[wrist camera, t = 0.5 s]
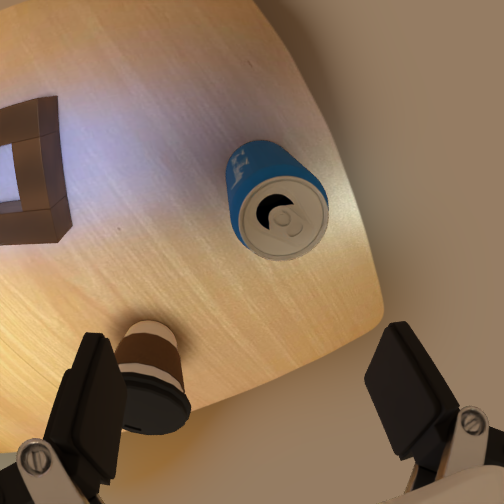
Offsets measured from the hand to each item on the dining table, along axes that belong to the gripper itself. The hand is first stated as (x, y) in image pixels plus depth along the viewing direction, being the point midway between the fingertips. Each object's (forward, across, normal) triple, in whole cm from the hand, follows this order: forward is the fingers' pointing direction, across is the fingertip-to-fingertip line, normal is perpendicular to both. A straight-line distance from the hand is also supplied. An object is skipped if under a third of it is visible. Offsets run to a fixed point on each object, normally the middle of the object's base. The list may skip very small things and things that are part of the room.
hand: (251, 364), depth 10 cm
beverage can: (+22, -3, -1) cm, 23 cm away
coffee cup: (+22, +10, +21) cm, 32 cm away
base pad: (+22, +24, -2) cm, 33 cm away
